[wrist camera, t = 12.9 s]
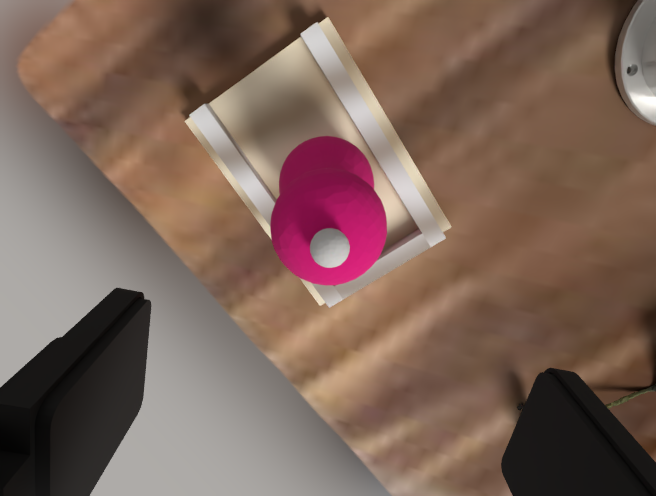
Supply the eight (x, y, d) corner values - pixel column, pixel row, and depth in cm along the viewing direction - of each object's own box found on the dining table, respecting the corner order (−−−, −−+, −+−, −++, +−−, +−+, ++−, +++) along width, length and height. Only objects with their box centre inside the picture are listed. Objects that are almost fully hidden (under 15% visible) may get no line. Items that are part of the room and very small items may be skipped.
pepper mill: (265, 172, 38) (209, 249, 19) (328, 112, 36) (336, 131, 17) (323, 232, 40) (324, 358, 21) (385, 178, 38) (448, 259, 19)
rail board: (188, 120, 37) (179, 122, 35) (328, 18, 35) (328, 13, 33) (320, 301, 43) (319, 313, 41) (448, 224, 41) (456, 231, 38)
